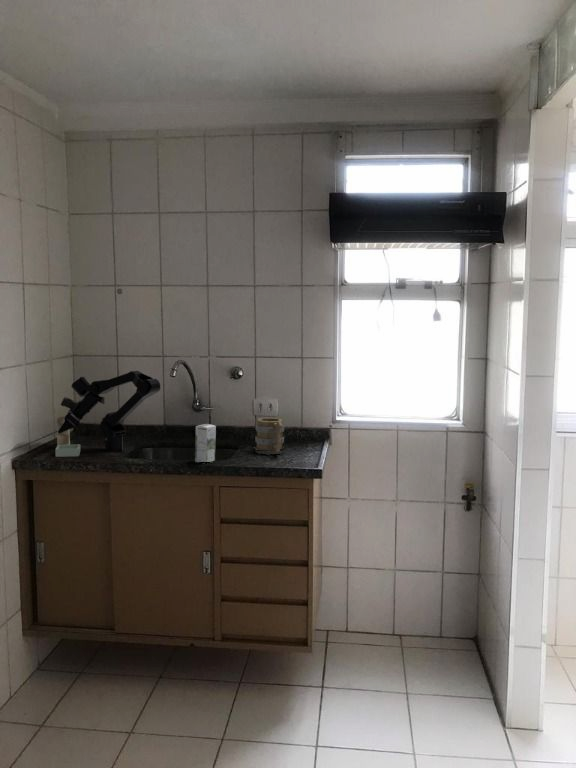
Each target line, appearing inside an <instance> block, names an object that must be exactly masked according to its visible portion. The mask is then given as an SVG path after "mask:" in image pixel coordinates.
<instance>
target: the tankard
mask: <svg viewBox="0 0 576 768" xmlns="http://www.w3.org/2000/svg"><path fill="white" fill-rule="evenodd" d="M255 431H256V436H254V437H255V440H254V441H255V443H256V446H254V447H253V448H255V449H256V450H268V451H270V450H274V451H275V452H279V451H280V449H282V447H283V443H285V437H284V436H283V435H284V432H285V425H284V420H283V419H282V418H278V417H277V418H276V417H260V418H258V419H257V420H256V425H255Z"/></svg>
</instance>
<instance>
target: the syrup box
mask: <svg viewBox="0 0 576 768" xmlns="http://www.w3.org/2000/svg"><path fill="white" fill-rule="evenodd" d="M216 429H217V425H214V424H210V423H204V424H200V425H196V426H195V438H194V439H195V443H194V444H195V445H194V446H195V447H194V449H195V450H194V462H195V463H199V462H210V463H214V462H215V461H216V438H217V436H216V435H217V430H216ZM213 461H214V462H213Z"/></svg>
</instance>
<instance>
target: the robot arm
mask: <svg viewBox="0 0 576 768" xmlns="http://www.w3.org/2000/svg"><path fill="white" fill-rule="evenodd" d="M130 383H132V384H133V385H134V387H136V390H135V393H134V394H133V395H131V397H130V398H129V399H128V400H127V401H126V402H124V404H123V405H121V407H120V408H119V409H118V410H117V411H113V412H108V413H106V415H105V416H104V417H103V418H101V422H100V428H101V432H102V436H103V437H104V438H105V447H104V448H105V451H106V453H111V452H112V453H113V452H118V453H119V452H123V451H124V446H123V445H124V444H123V441H124V440H123V439H124V438H123V437H124V436H125V435H126V434H127V431H128V430H127V428H126V427H125V426H124V423H125V420H126V418H128V417H129V415H131V414H132V413H133V412H134V411H135V409H137V408H138V407H139V406H140V405H141V404H142V403H143V402H144V401H145V400H146V399H148V398H150V397H152V396H154V395H156V394H157V393H158V392H160V390H161V383H160V381H159V380H158V379H157V378H153V377H151V376H149V375H147V374H145V373H143V372H141V371H140V370H132V371H129V372H127V373H123V374H121V375H119V376H115V377H112V378H110V379H102V380H94V381H92V382H91V384H90V383H89V382H88V380H87V379H86V378H85V377H84V376H80V377H79V378H78V379H76V380H75V381H73V382H72V384H71V388H72V389H73V391H75V393H76V394H77V395H78V396H79V397H81V398H82V399H81V400H79V401H75V400H73V399H72V398H69V397H66V396H64V397H63V398H62V400H61V403H60V406H62V407H65V408H68V409H69V410H68V411H67V413H66V414H65V416H64V417H65V422H64V423H63V425H62V426H61V428H60V429H59V430H58V433H62V432H64V431H67V430H69V429H70V430H71V429H73V428H76V427H78V426H79V425H80V424H81V421H82V420H83V419H84V417H86V415H87V414H90V412H91V411H92V410H93V409H94V408H95V407H96V406H97V405H98V404H99V403H100V404H102V405H105V399H106V398H105V397H104V396H101V395H104V394H108V393H110V392H112V391H113V390H114V389H115V388H118V387H120V386H123V385H126V384H130Z"/></svg>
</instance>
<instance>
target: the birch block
mask: <svg viewBox="0 0 576 768" xmlns="http://www.w3.org/2000/svg"><path fill="white" fill-rule="evenodd" d="M64 422H65V416H58V417H57V418H56V429H57V430H56V433H57V434H56V438H57V439H56V440H57V441H56V443H57V444H56V447H57V446H58V445H71V440H70V439H71V435H70V430H71V429H69V430H67V431H64V432H62V433H58V430H59V429H60V428H61V426H62V425H63V423H64Z"/></svg>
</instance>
